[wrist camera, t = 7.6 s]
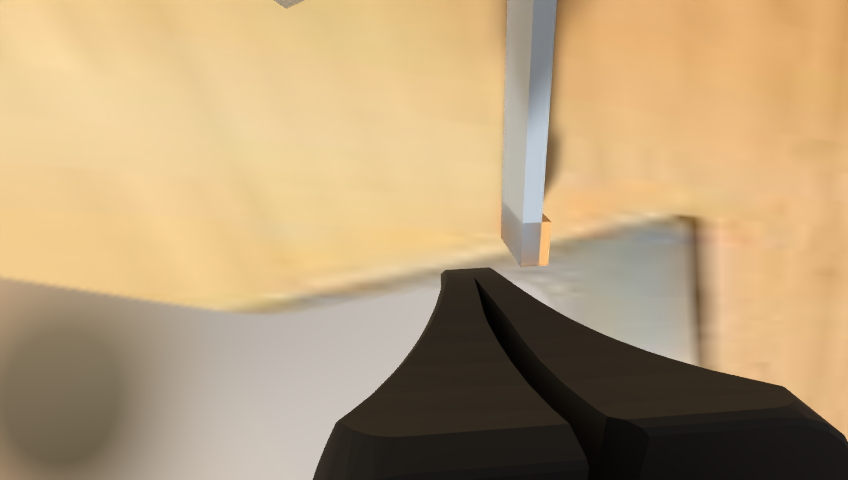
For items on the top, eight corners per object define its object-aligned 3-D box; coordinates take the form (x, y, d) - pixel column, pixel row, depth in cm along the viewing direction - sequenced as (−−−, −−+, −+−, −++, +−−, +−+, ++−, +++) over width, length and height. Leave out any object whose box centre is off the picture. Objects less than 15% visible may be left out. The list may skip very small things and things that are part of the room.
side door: (523, 235, 20) (547, 265, 17) (500, 237, 20) (520, 267, 17) (539, -81, 15) (578, -125, 12) (509, -79, 15) (539, -123, 12)
